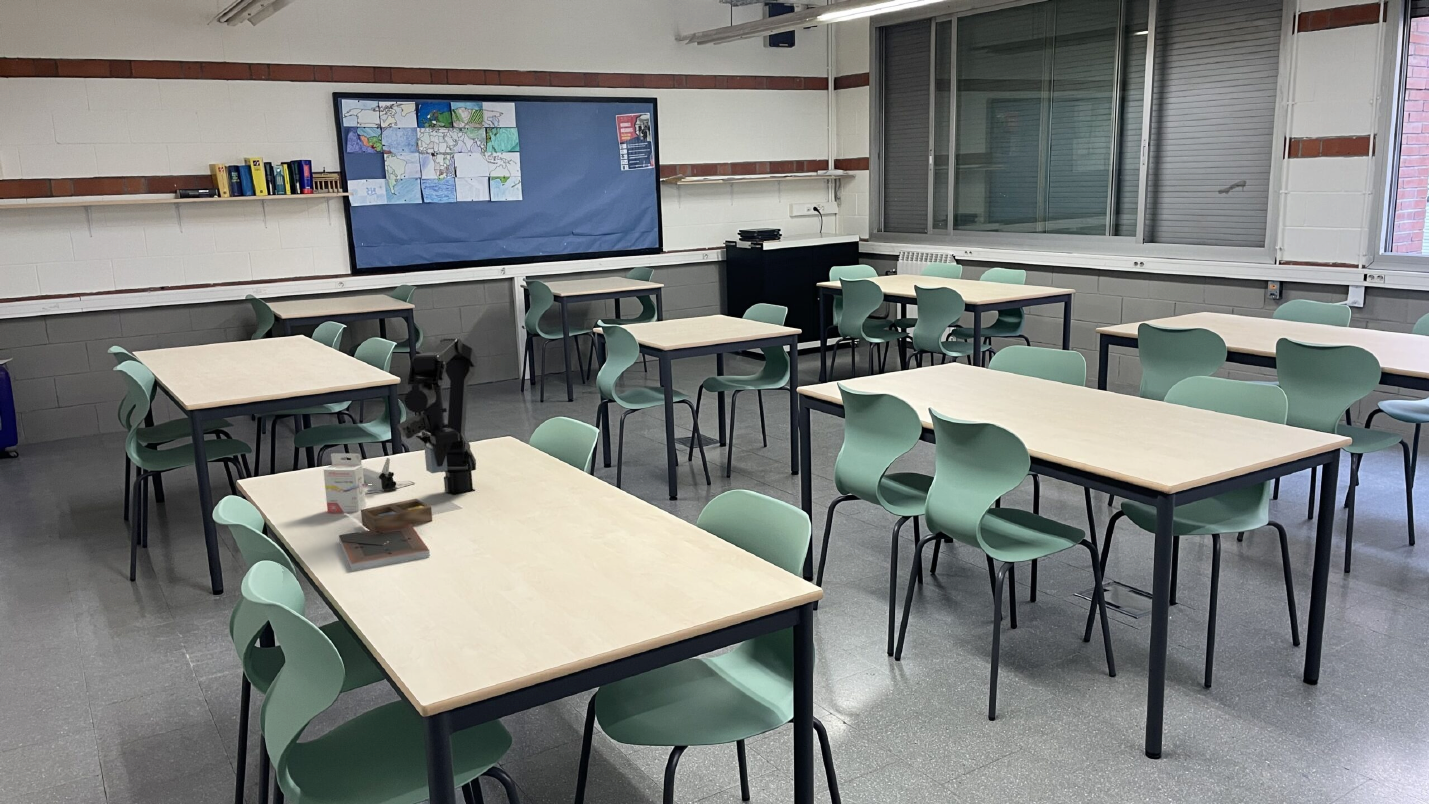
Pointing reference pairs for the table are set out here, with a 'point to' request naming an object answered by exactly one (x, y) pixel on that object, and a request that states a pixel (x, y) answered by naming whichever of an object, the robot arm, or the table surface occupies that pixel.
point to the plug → (433, 461)
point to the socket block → (396, 514)
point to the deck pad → (444, 507)
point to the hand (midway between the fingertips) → (436, 464)
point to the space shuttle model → (381, 480)
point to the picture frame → (382, 546)
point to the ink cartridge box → (345, 484)
